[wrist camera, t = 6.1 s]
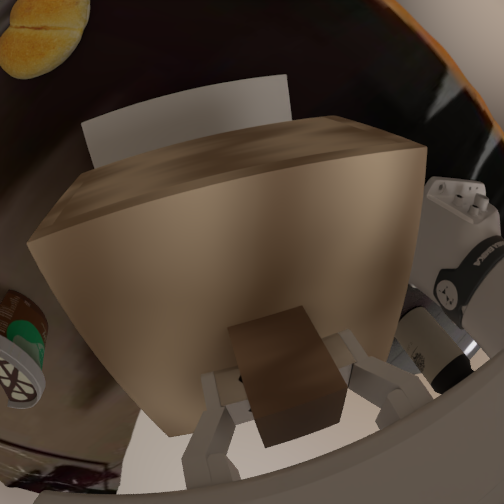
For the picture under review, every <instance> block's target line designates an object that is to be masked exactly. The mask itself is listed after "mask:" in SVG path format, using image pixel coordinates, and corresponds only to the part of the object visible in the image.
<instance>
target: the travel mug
mask: <svg viewBox="0 0 504 504" xmlns="http://www.w3.org/2000/svg"><path fill="white" fill-rule="evenodd" d="M394 337H395V338H396V339H397V340H398V342H399V343H400V344H401V346H402V347H403V348H404V350H405V351H406V352H407V354H408V355H409V356H410V358H411V359H412V360H413V362H414V363H415V364H416V366H417V367H418V368H419V370H420V371H421V373H422V374H423V375H424V377H425V378H426V379H427V381H428V382H429V384H430V385H431V386H432V388H433V389H434V391H435V392H437V393H440V394H443V393H445V392H446V391H448V390H449V389H451V388H452V387H454V386H455V385H457V384H458V383H459V382H461V381H462V380H464V379H465V378H466V377H468V376H469V375H470V374H472V373H473V372H474V371H473V370H472V369H471V365H470V360H469V359H468V358H467V356H466V355H465V354H464V353H463V352H462V350H461V349H460V348H459V347H458V346H457V344H456V343H455V342H454V341H453V340H452V339H451V337H450V336H449V335H448V334H447V333H446V332H445V330H444V329H443V328H442V327H441V326H440V325H439V324H438V323H437V321H436V320H435V319H434V318H433V317H432V316H431V315H430V314H429V312H428V311H427V310H426V309H425V308H424V307H418V308H415V309H413V310H411V311H410V312H408V313H407V314H406V315H405V316H404V317H403V318H402V319H401V320H400V321H399V323H398V325H397V329H396V332H395V335H394Z"/></svg>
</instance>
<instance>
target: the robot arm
mask: <svg viewBox="0 0 504 504" xmlns="http://www.w3.org/2000/svg"><path fill="white" fill-rule="evenodd" d="M488 202H489V199H488V198H487V197H486V192H485V186H484V184H483V183H481V182H480V181H473V180H464V179H455V178H446V177H431V178H430V179H429V180H428V182H427V183H426V185H425V187H424V193H423V202H422V210H421V217H420V224H419V230H418V236H417V242H416V248H415V253H414V259H413V264H412V268H411V273H410V278H409V282H408V283H409V285H411V286H412V287H413V288H418V289H419V290H420V291H422V292H423V293H424V294H425V295H427V296H428V297H429V298H430V299H432V300H433V301H434V302H435V303H437V304H438V305H439V306H440V307H441V308H442V309H443V311H444V313H445V314H446V315H447V316H448V317H449V318H450V319H451V320H452V322H453V323H454V324H455V325H457V326H458V327H459V328H460V329H465V330H466V331H467V333H468V334H469V335H470V336H471V337H472V338H473V339H474V340H475V342H476V343H477V344H478V345H479V346H480V347H481V348H482V350H483V351H484V352H485V353H486V354H487V355H488V357H489V358H490V360H488V361H487V362H486V363H485V364H483V365H482V366H481V367H480V368H478V369H477V370H476V371H474V372H473V373H472V374H470V375H469V376H468V377H466V378H465V379H464V380H462V381H461V382H459V383H458V384H457V385H455V386H454V387H452V388H451V389H449V390H448V391H446V392H445V393H443V394H442V395H440V396H439V397H437V398H436V399H433V398H432V396H431V395H430V393H429V392H428V391H427V389H426V387H425V386H424V385H423V383H422V382H421V380H420V379H419V377H417V376H415V375H413V374H411V373H408V372H406V371H404V370H402V369H399V368H397V367H395V366H393V365H390V364H388V363H386V362H384V361H382V360H379V359H377V358H375V357H373V356H370V357H368V355H367V354H366V352H365V351H364V349H363V348H362V346H361V345H360V343H359V342H358V340H357V339H356V337H355V336H354V335H353V333H352V332H351V330H349V329H346V330H343V331H341V332H338V333H334V334H332V335H329V336H327V337H324V338H321V339H322V341H323V343H324V345H325V346H326V348H327V350H328V352H329V353H330V355H331V357H332V359H333V361H334V362H335V364H336V366H337V368H338V370H339V371H340V373H341V375H342V377H343V378H344V380H345V382H346V384H347V386H348V387H349V389H350V390H352V391H353V392H355V393H357V394H358V395H360V396H361V397H363V398H365V399H366V400H368V401H370V402H371V403H373V404H375V405H376V406H378V407H380V408H381V410H380V413H379V414H378V417H377V419H376V421H375V422H376V423H377V425H378V427H379V429H380V430H379V431H377V432H375V433H373V434H371V435H369V436H367V437H365V438H363V439H360V440H358V441H356V442H353V443H351V444H349V445H346V446H344V447H342V448H339V449H337V450H334V451H332V452H329V453H327V454H324V455H322V456H319V457H316V458H314V459H311V460H308V461H305V462H302V463H299V464H296V465H293V466H290V467H287V468H283V469H280V470H277V471H273V472H270V473H266V474H263V475H259V476H255V477H251V478H247V479H243V480H241V478H240V475H239V472H238V469H237V468H236V467H235V466H234V465H233V463H232V462H231V461H230V460H229V459H228V457H227V456H226V454H227V451H228V448H229V445H230V442H231V439H232V436H233V433H234V430H235V427H236V426H235V425H237V424H241V423H244V422H248V421H251V420H254V417H253V414H252V411H251V408H250V404H249V401H248V398H247V394H246V391H245V388H244V385H243V381H242V378H241V374H240V371H239V368H238V365H237V366H233V367H229V368H225V369H221V370H217V371H212V372H208V373H204V374H201V382H202V388H203V393H204V398H205V403H206V408H207V410H206V411H203V413H202V415H201V418H200V420H199V422H198V424H197V426H196V428H195V431H194V433H193V435H192V437H191V439H190V442H189V444H188V446H187V448H186V450H185V452H184V454H183V457H182V465H183V471H184V476H185V482H186V487H187V490H180V491H172V492H161V493H147V494H123V495H121V494H120V495H107V494H81V493H68V492H58V491H42V492H41V493H40V494H39V496H38V497H37V498H36V500H35V501H34V503H33V504H504V239H503V238H502V237H501V232H500V218H499V213H498V211H497V209H496V208H495V207H494V206H492V205H491V204H490V203H488Z"/></svg>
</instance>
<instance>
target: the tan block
mask: <svg viewBox="0 0 504 504" xmlns="http://www.w3.org/2000/svg"><path fill="white" fill-rule="evenodd" d="M426 159H427V147H426V146H424V145H421V144H419V143H416V142H414V141H411V140H408V139H406V138H403V137H400V136H398V135H395V134H392V133H389V132H386V131H383V130H380V129H377V128H374V127H371V126H368V125H365V124H362V123H359V122H355V121H352V120H349V119H345V118H342V117H338V116H335V115H334V116H325V117H316V118H307V119H300V120H292V121H286V122H279V123H273V124H266V125H261V126H255V127H249V128H244V129H239V130H234V131H229V132H224V133H219V134H215V135H210V136H206V137H202V138H197V139H193V140H189V141H185V142H181V143H177V144H173V145H170V146H166V147H162V148H159V149H155V150H152V151H148V152H145V153H142V154H138V155H135V156H132V157H129V158H125V159H122V160H119V161H116V162H113V163H110V164H107V165H104V166H101V167H98V168H96V169H93V170H90V171H87V172H85V173H82V174H80V176H79V177H78V178H77V179H76V180H75V181H74V182H73V184H72V185H71V186H70V187H69V188H68V189H67V191H66V192H65V193H64V194H63V195H62V197H61V198H60V199H59V200H58V201H57V203H56V204H55V205H54V206H53V208H52V209H51V210H50V212H49V213H48V214H47V215H46V217H45V218H44V219H43V221H42V222H41V223H40V225H39V226H38V227H37V229H36V230H35V232H34V233H33V234H32V236H31V237H30V239H29V240H28V242H27V243H26V244H27V246H28V248H29V250H30V252H31V254H32V256H33V258H34V260H35V261H36V263H37V265H38V267H39V269H40V271H41V272H42V274H43V276H44V278H45V280H46V281H47V283H48V285H49V286H50V288H51V290H52V291H53V293H54V295H55V296H56V298H57V300H58V301H59V303H60V304H61V306H62V308H63V309H64V311H65V312H66V314H67V315H68V317H69V318H70V320H71V321H72V323H73V324H74V326H75V327H76V329H77V330H78V332H79V333H80V334H81V336H82V337H83V339H84V340H85V341H86V343H87V344H88V345H89V347H90V348H91V350H92V351H93V352H94V354H95V355H96V356H97V357H98V359H99V360H100V361H101V363H102V364H103V365H104V366H105V368H106V369H107V370H108V371H109V373H110V374H111V375H112V376H113V377H114V379H115V380H116V381H117V382H118V383H119V385H120V386H121V387H122V388H123V389H124V390H125V392H126V393H127V394H128V395H129V396H130V397H131V398H132V399H133V401H134V402H135V403H136V404H137V405H138V406H139V407H140V408H141V409H142V410H143V411H144V412H145V413H146V415H147V416H148V417H149V418H150V419H151V420H152V421H153V422H154V423H155V424H156V425H157V426H158V427H159V428H160V429H161V430H162V431H163V432H164V433H166V434H167V436H168V437H174V436H180V435H186V434H191V433H194V431H195V428H196V426H197V424H198V422H199V420H200V418H201V415H202V413H203V411H206V410H207V408H206V403H205V398H204V393H203V388H202V382H201V374H204V373H208V372H212V371H217V370H221V369H225V368H229V367H233V366H237V365H238V368H239V371H240V374H241V378H242V381H243V385H244V388H245V391H246V394H247V398H248V401H249V404H250V408H251V411H252V414H253V417H254V420H255V423H256V425H257V428H258V431H259V433H260V436H261V439H262V441H263V444H264V446H265V448H267V447H271V446H274V445H278V444H281V443H284V442H287V441H290V440H293V439H296V438H299V437H302V436H305V435H308V434H311V433H313V432H316V431H319V430H321V429H324V428H326V427H329V426H332V425H334V424H337V423H339V422H340V418H341V414H342V410H343V406H344V402H345V397H346V393H347V389H348V386H347V384H346V382H345V380H344V378H343V377H342V375H341V373H340V371H339V370H338V368H337V366H336V364H335V362H334V361H333V359H332V357H331V355H330V353H329V352H328V350H327V348H326V346H325V345H324V343H323V341H322V339H321V338H324V337H327V336H329V335H332V334H334V333H338V332H341V331H343V330H346V329H349V330H351V332H352V333H353V335H354V336H355V337H356V339H357V340H358V342H359V343H360V345H361V346H362V348H363V349H364V351H365V352H366V354H367V355H368V357H370V356H373V357H375V358H377V359H379V360H382V361H384V362H386V361H387V358H388V355H389V351H390V348H391V345H392V342H393V339H394V335H395V332H396V329H397V325H398V322H399V318H400V314H401V311H402V307H403V303H404V299H405V295H406V291H407V287H408V282H409V278H410V273H411V268H412V264H413V259H414V253H415V248H416V242H417V236H418V230H419V224H420V217H421V210H422V202H423V193H424V184H425V173H426Z"/></svg>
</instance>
